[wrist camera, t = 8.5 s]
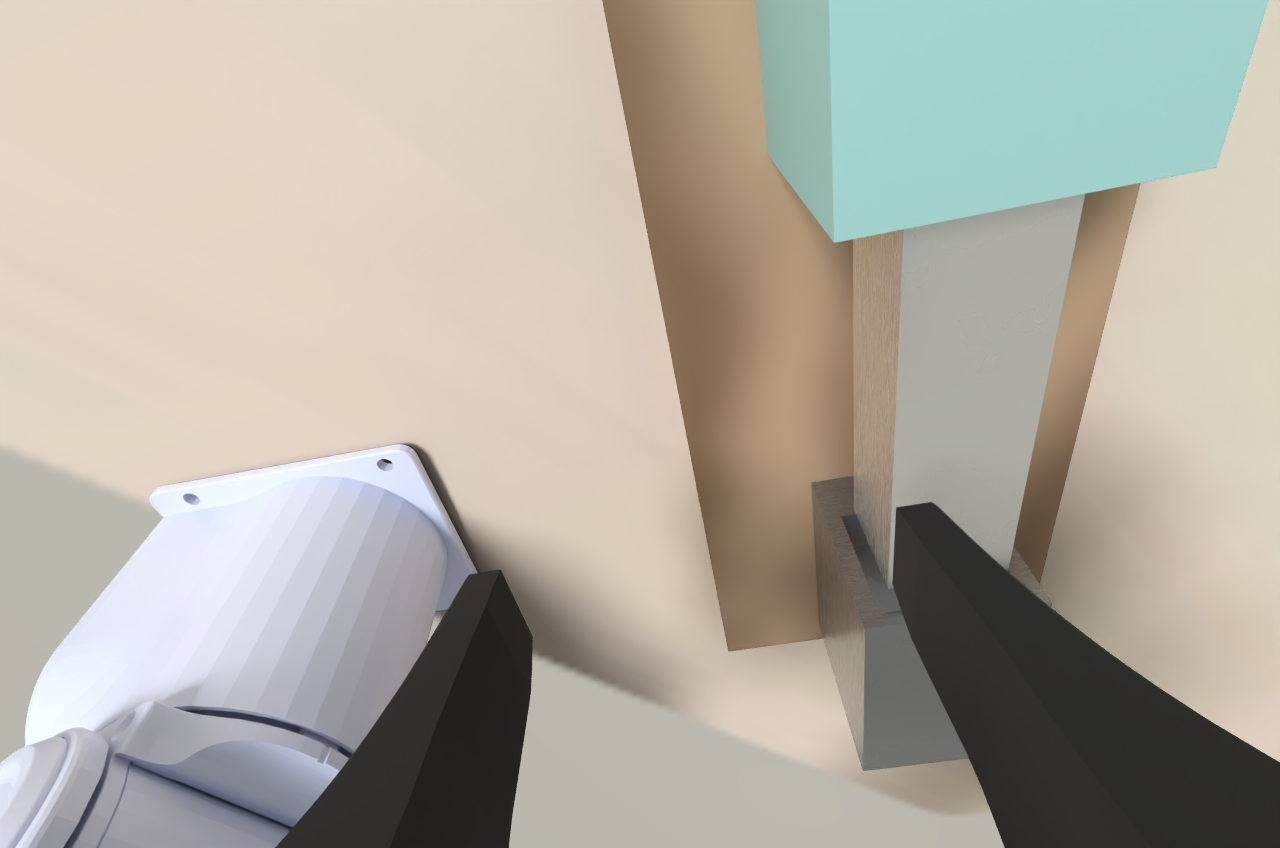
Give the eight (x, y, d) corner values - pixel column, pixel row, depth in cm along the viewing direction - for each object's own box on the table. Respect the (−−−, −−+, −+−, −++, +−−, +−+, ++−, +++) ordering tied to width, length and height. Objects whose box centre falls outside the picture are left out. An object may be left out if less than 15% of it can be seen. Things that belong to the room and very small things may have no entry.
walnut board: (723, 620, 28) (728, 651, 26) (590, -76, 14) (586, -78, 13) (1013, 578, 27) (1033, 608, 25) (1187, -224, 13) (1247, -244, 11)
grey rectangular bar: (854, 509, 19) (887, 589, 17) (852, -10, 12) (913, -2, 9) (958, 492, 19) (1008, 571, 16) (1024, -50, 11) (1135, -52, 9)
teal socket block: (767, 154, 15) (833, 242, 10) (749, -73, 13) (826, -92, 8) (1023, 100, 15) (1215, 167, 10) (1058, -149, 12) (1336, -216, 7)
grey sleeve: (818, 623, 25) (863, 771, 21) (811, 482, 21) (864, 628, 17) (938, 606, 25) (1010, 752, 20) (955, 458, 21) (1051, 602, 16)
